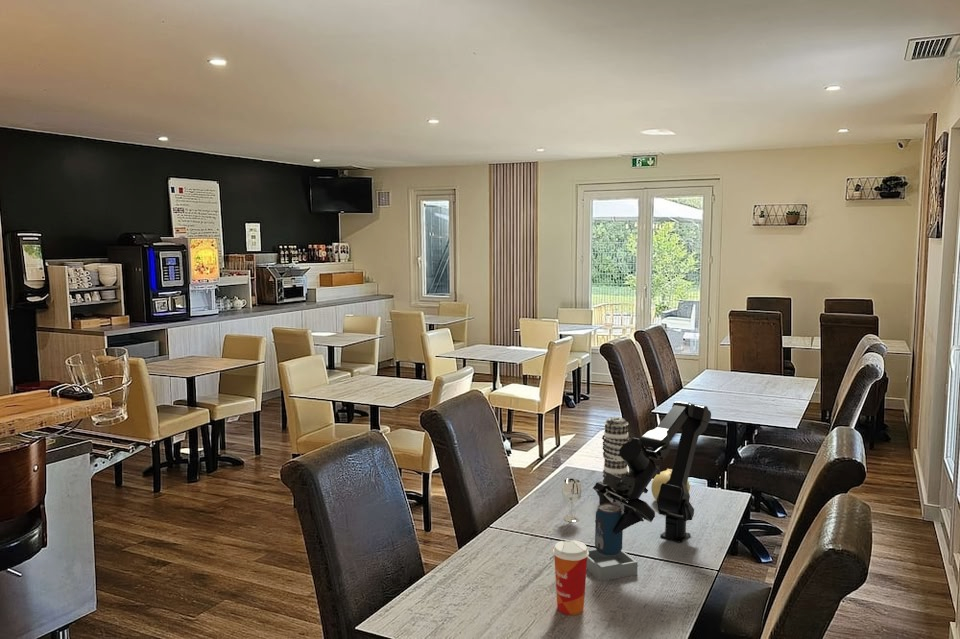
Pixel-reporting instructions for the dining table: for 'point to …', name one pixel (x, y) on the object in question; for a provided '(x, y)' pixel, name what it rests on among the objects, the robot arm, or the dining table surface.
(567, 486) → the wineglass
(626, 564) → the tray
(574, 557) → the coffee cup
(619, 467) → the decorative candle
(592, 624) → the dining table surface
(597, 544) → the soda can
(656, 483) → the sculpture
